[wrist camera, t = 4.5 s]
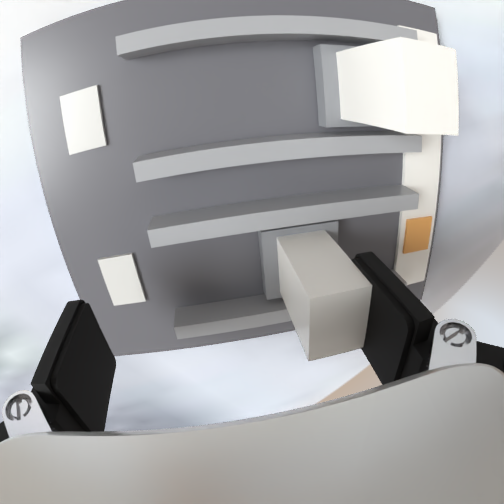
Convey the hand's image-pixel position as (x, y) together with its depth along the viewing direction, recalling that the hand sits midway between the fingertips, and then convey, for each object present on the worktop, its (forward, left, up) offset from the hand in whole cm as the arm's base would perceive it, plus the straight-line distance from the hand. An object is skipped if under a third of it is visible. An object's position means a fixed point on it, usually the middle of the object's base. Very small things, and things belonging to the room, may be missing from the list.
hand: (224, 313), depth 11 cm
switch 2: (-6, -7, -3) cm, 10 cm away
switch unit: (-2, -4, -4) cm, 6 cm away
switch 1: (-3, 0, -3) cm, 5 cm away
